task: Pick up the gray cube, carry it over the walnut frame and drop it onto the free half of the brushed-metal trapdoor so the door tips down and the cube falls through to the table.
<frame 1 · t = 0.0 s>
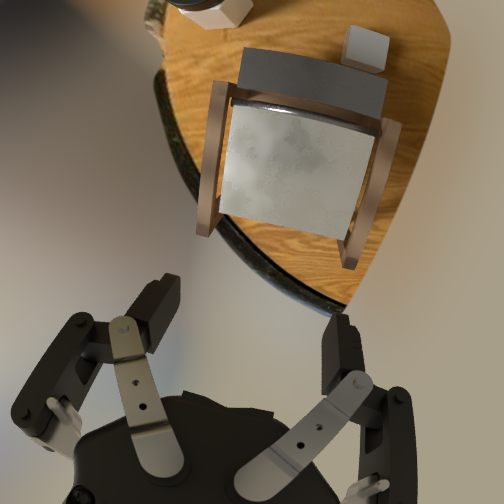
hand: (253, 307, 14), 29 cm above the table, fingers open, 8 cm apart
gray cube: (360, 53, 28), on the table
jar: (223, 7, 28), on the table
frame: (296, 153, 37), on the table
trapdoor: (299, 146, 26), point 12 cm above the table, hinge at 0.0°
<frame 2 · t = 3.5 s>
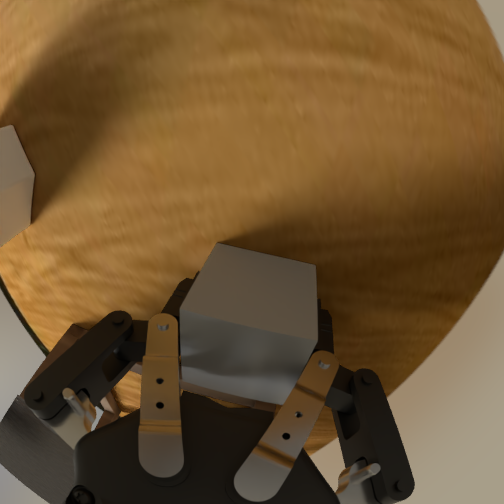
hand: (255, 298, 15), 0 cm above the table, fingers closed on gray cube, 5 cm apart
gray cube: (257, 292, 15), on the table, touching gripper
jar: (9, 177, 14), on the table
frame: (169, 403, 24), on the table
trapdoor: (121, 500, 12), point 12 cm above the table, hinge at 0.0°
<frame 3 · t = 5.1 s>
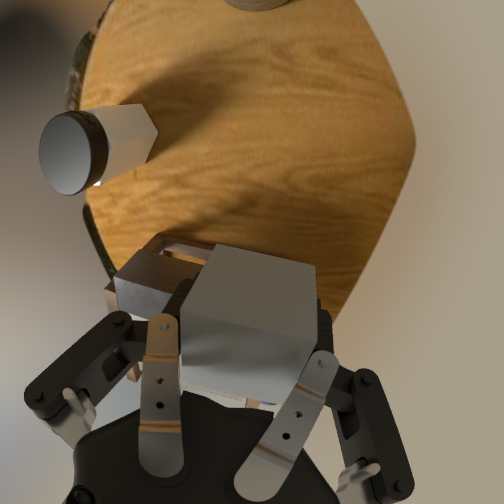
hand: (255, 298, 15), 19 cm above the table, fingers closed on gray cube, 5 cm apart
gray cube: (257, 293, 15), point 19 cm above the table, touching gripper
jar: (129, 134, 30), on the table
frame: (216, 295, 40), on the table
trapdoor: (189, 343, 28), point 12 cm above the table, hinge at 0.0°
when the fingers open (16 cm above the table, at t = 6.9 s): gray cube drops 13 cm and tips over, point 2 cm above the table.
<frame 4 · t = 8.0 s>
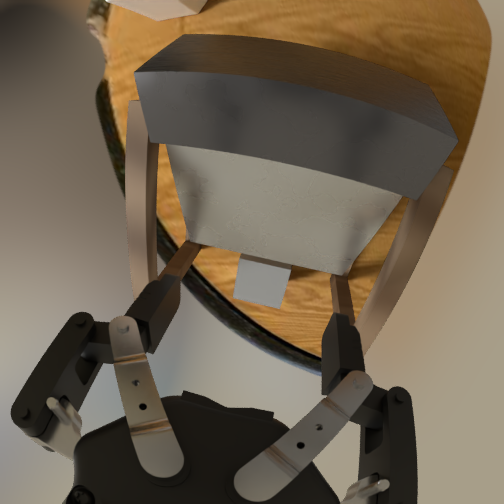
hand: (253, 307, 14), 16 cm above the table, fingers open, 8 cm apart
gray cube: (268, 251, 29), point 2 cm above the table, tilted 90°
frame: (281, 190, 28), on the table
trapdoor: (280, 190, 17), point 10 cm above the table, hinge at -31.4°
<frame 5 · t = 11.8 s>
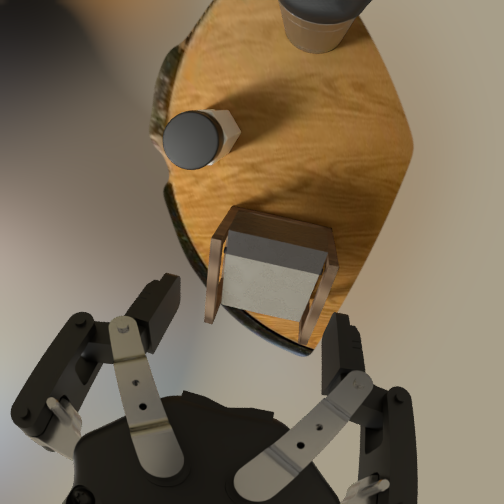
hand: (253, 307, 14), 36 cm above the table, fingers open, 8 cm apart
jar: (215, 131, 44), on the table
frame: (273, 254, 54), on the table
trapdoor: (269, 276, 43), point 12 cm above the table, hinge at -8.7°
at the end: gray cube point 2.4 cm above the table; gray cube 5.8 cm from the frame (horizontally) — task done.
